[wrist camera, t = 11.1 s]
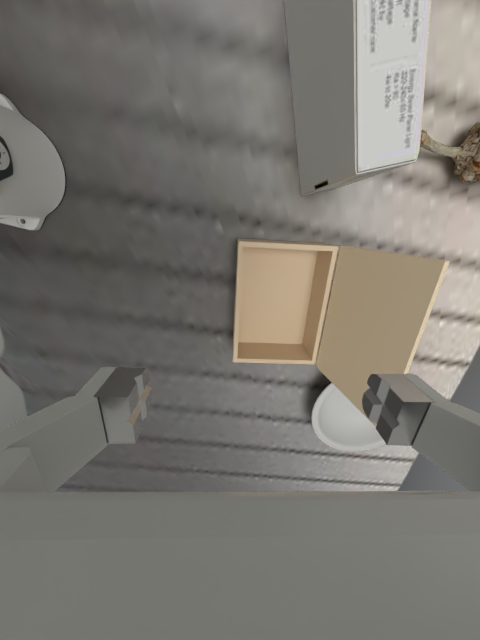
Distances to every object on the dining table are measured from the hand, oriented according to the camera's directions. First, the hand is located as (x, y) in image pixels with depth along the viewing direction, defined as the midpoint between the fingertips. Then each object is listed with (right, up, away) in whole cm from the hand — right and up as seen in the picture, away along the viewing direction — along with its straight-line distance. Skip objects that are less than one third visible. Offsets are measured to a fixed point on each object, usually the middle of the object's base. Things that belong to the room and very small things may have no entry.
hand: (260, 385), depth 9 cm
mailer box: (+6, +7, +40) cm, 41 cm away
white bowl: (+27, -16, +50) cm, 59 cm away
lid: (+17, +1, +25) cm, 30 cm away
